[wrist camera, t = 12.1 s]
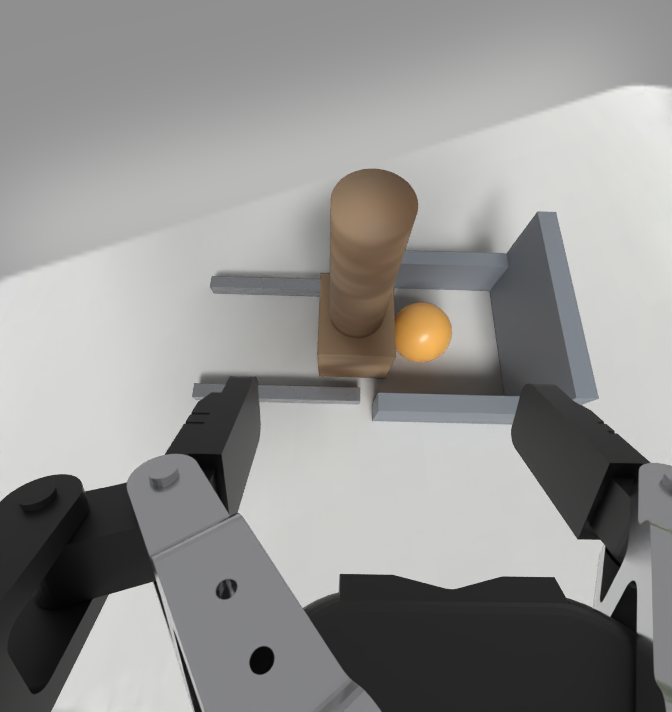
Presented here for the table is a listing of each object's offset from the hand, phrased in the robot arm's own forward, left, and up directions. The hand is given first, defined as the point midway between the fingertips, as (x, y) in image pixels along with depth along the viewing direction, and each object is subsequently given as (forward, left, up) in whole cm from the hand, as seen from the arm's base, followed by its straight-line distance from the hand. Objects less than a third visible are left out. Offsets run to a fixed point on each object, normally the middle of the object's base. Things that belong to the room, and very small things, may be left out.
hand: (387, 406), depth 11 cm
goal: (+10, +4, -16) cm, 19 cm away
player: (+4, +8, -16) cm, 18 cm away
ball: (+8, +5, -14) cm, 17 cm away
